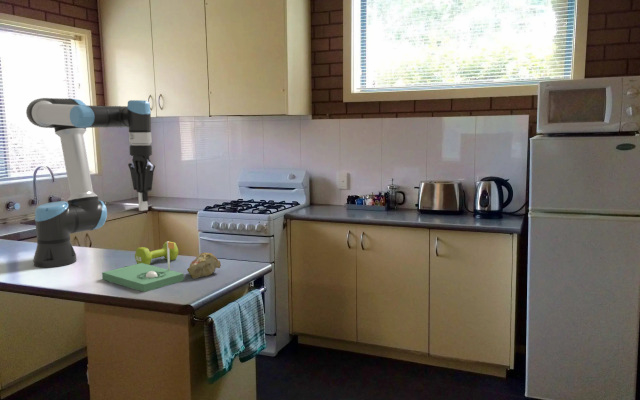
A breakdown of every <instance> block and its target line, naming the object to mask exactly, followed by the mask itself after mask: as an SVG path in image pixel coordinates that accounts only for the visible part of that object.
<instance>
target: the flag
mask: <svg viewBox="0 0 640 400" xmlns="http://www.w3.org/2000/svg"><path fill="white" fill-rule="evenodd" d="M166 242H167V258H168V260H167V269H168V271H170V270H171V265H170V264H171V260H170V257H169V248H170V249H174V243H175V242H174V243H172V242H173V241H170V242H169V241H168V240H167V241H166Z"/></svg>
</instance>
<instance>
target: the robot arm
mask: <svg viewBox="0 0 640 400" xmlns="http://www.w3.org/2000/svg"><path fill="white" fill-rule="evenodd" d="M25 113H26V117H27V119H28V120H29V122H30V123H31V124H32V125H34V126H36V127H39V128H44V129H46V128H47V129H48V128H49V129H54V133H55V135H57V136H58V137H59V138H60V143H61V148H62V154H63V160H64V161H63V162H64V166H65V171H66V177H67V178H66V179H67V182H68V188H69V194H70V196H69V198H67V199H66V201H64V200H61V201H60V200H59V201H51V202H47V203H43V204H40V205H39V206H37V207H36V208H35V210H34V220H35V230H36V231H35V233H36V243H37V244H36V248H35V252H34V255H33V258H32V259H33V266H35V267H39V268H55V267H56V268H57V267H62V266H68V265H71V264H74V263H76V262H77V253H76V251H75V249H74V247H73V245H72V241H71V234H76V233H83V232H87V231H94V230H98V229H101V228H102V227H103V226H104V225H105V224H106V223H105V222H106V221H107V217H108V210H107V206H106V204H105V202H104V201H102V200H101V199H99V195H97V194H96V193H95V192H94V190H93V185H92V184H93V183H92V179H91V178H92V177H91V173H90V167H89V161H88V156H87V155H88V154H87V149H86V144H85V138H84V134H85V133H86V132H87V129H88V128H89V129H90V128H128V135H129V136H128V137H129V138H128V141H129V144H131V145H129V155H130V156H132V160H131V162H129V163H128V168H129V171H130V176H131V182H132V187H133V190H134V191H136V192H137V200H138V211H141V212H143V211H148V210H149V204H148V201H149V197H148V195H149V194H148V193H149V192H150V191H152V189H153V181H154V180H153V179H154V172H155V168H156V165H155V164H152V163H151V159H150V156H152V155H153V148H152V145H151V144H152V143H153V141H152V140H153V139H152V122H151V121H152V118H151V116H152V115H151V114H152V111H151V105H150V101H148V100H145V99H144V100H143V99H142V100H141V99H140V100H139V99H135V100H134V99H133V100H132V99H131V100H128V101H127V106H126V105H125V106H123V105H122V106H121V105H87V104H85V102H83V100H80V99H76V98H71V97H70V98H56V97H55V98H50V97H41V98H37V99H34V100H32V101H31V102H30V103H28V105H27V107H26V112H25Z"/></svg>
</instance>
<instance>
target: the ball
mask: <svg viewBox="0 0 640 400" xmlns="http://www.w3.org/2000/svg"><path fill="white" fill-rule="evenodd" d="M157 276H158V275H157V273H156V272H154V271H149V272H148V273H147V274H146V276H145V277H146V278H152V277H157Z"/></svg>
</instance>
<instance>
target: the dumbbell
mask: <svg viewBox="0 0 640 400" xmlns="http://www.w3.org/2000/svg"><path fill="white" fill-rule="evenodd" d="M169 242H172V243H174V249H170V248H169V257H170V261H174V260H176V259H177V257H178V255H179V248H178V246H177V243H176V242H174V241H169ZM162 257H164V259H165V260H167V261H168V258H167V241H165V242H164V243H163V245H162V248H159V249H155V250H151V251H150V249H149V248H148V247H145V246H139V247H137V248H136V249H135V253H134V259H135V262H136V264H139V263H144V264H148V265H151V263H152V260H153V259H159V258H162Z"/></svg>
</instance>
